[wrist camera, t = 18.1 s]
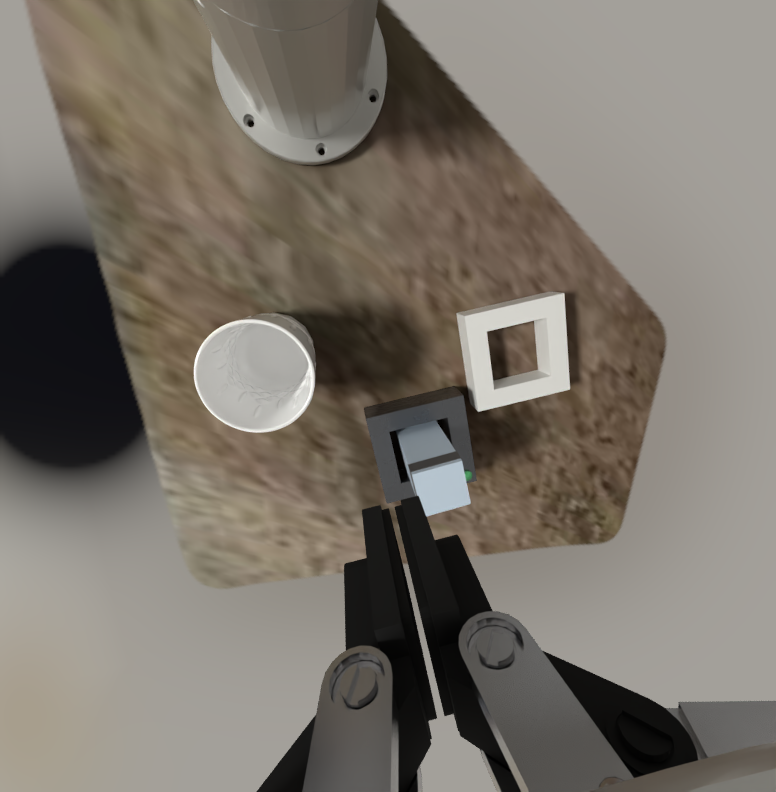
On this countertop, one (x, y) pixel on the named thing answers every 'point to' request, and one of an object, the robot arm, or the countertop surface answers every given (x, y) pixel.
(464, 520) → the countertop surface
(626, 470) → the countertop surface
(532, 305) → the holster
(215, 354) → the white cup
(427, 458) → the plug
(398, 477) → the port
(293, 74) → the robot arm
